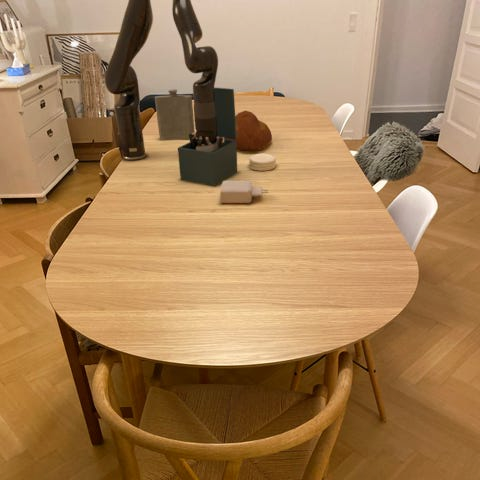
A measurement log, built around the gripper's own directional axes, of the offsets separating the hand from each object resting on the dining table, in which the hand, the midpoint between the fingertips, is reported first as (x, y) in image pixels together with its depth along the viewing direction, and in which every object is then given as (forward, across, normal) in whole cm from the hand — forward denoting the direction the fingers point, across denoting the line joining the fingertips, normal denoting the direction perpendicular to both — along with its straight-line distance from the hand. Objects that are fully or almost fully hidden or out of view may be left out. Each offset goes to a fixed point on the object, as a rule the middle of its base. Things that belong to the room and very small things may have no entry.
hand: (208, 164), depth 169 cm
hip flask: (+4, +39, -35) cm, 53 cm away
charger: (+4, -22, +13) cm, 26 cm away
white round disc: (+4, -13, -17) cm, 22 cm away
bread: (+4, +7, -42) cm, 43 cm away
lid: (-16, 0, -7) cm, 17 cm away
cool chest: (+4, 0, 0) cm, 4 cm away
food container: (+2, -1, 0) cm, 2 cm away
